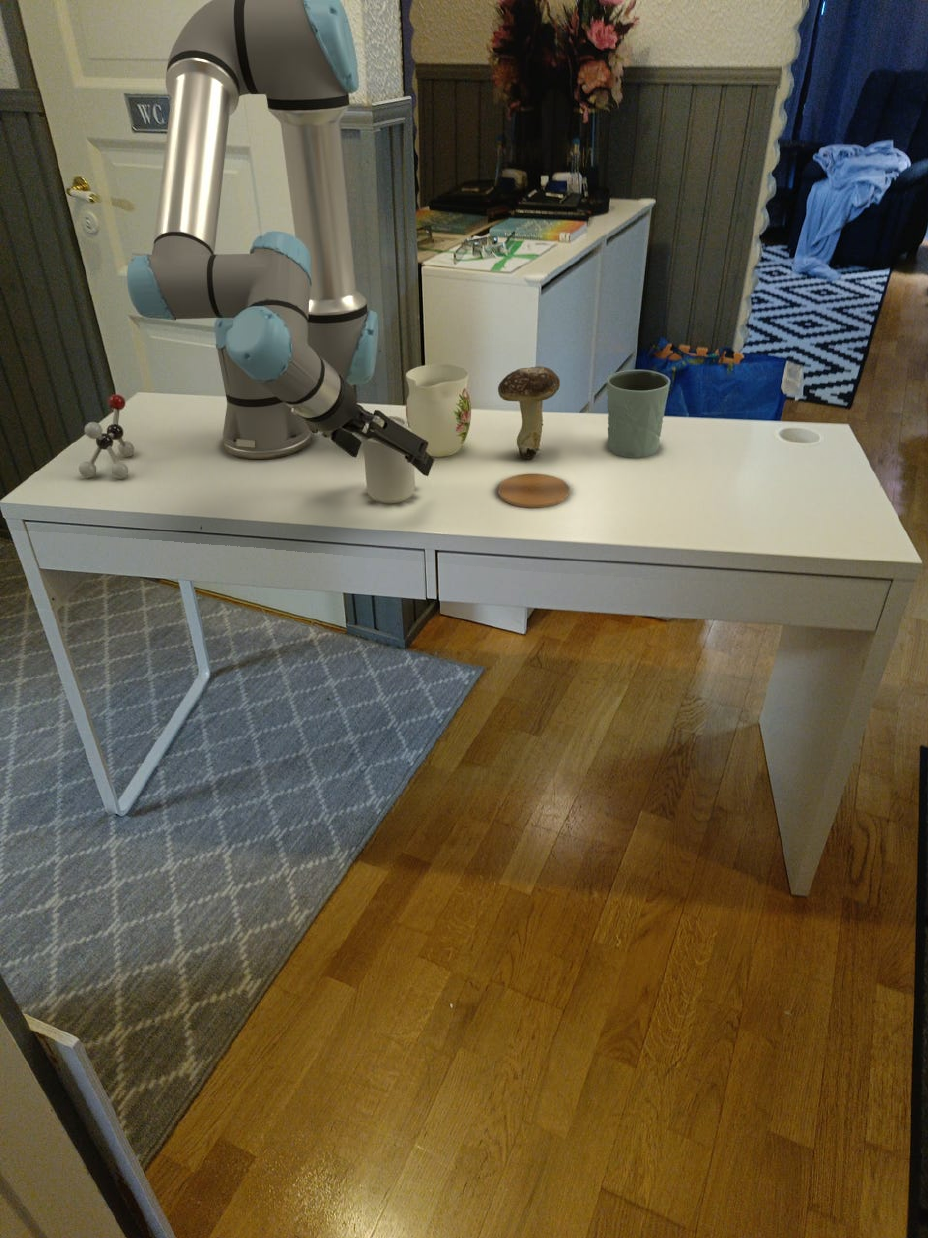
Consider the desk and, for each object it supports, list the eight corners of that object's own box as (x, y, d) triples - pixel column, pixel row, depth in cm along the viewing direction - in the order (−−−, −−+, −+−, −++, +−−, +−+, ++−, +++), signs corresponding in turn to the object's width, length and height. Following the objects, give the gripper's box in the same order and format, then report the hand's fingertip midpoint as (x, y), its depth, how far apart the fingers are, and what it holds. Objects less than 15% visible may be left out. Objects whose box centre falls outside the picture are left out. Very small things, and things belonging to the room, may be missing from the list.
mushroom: (566, 453, 149) (570, 366, 140) (540, 472, 143) (543, 382, 135) (518, 441, 153) (519, 356, 145) (491, 459, 148) (491, 371, 139)
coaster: (492, 479, 141) (492, 476, 141) (559, 473, 143) (559, 470, 142) (505, 510, 132) (505, 507, 132) (576, 504, 134) (576, 501, 133)
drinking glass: (670, 442, 152) (677, 374, 145) (651, 464, 145) (659, 393, 138) (614, 432, 156) (619, 365, 149) (593, 454, 149) (598, 384, 142)
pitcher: (484, 429, 158) (483, 353, 151) (458, 471, 144) (456, 389, 136) (426, 424, 161) (422, 349, 153) (395, 465, 147) (389, 385, 139)
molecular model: (78, 480, 145) (60, 418, 139) (110, 450, 154) (94, 391, 148) (126, 481, 144) (109, 419, 138) (155, 451, 154) (141, 392, 148)
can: (357, 495, 138) (350, 422, 131) (393, 480, 142) (388, 408, 135) (389, 510, 133) (383, 436, 126) (425, 494, 138) (421, 421, 131)
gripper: (237, 403, 121) (320, 463, 140) (384, 437, 110) (452, 498, 129) (258, 354, 122) (337, 421, 141) (405, 383, 111) (470, 451, 130)
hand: (392, 458), depth 135 cm, fingers open, 13 cm apart
